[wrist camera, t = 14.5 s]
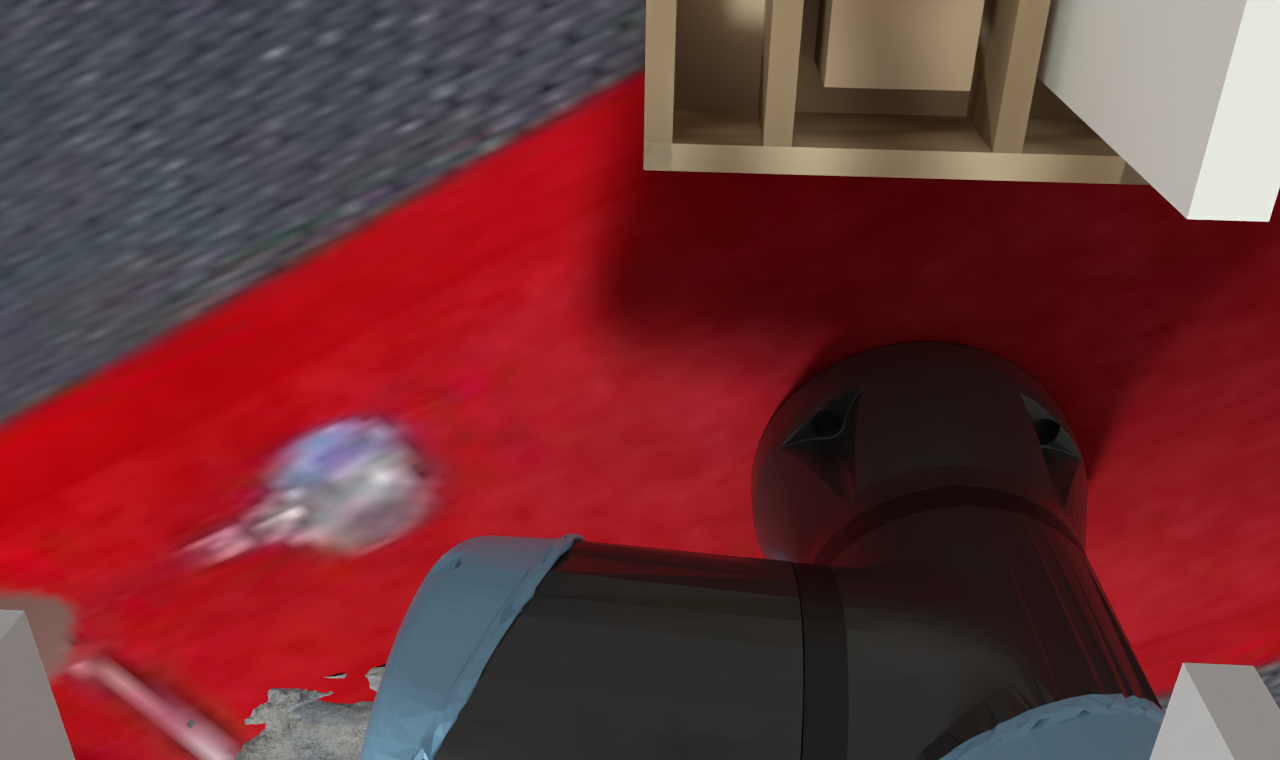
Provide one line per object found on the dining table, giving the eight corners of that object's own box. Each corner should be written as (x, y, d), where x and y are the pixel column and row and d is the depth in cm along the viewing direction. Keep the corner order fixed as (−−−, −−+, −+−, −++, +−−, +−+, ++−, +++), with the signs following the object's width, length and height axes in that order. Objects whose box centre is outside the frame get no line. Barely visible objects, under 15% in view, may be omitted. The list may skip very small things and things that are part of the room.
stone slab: (442, 656, 58) (511, 790, 62) (451, 633, 60) (517, 765, 64) (154, 716, 62) (236, 838, 66) (169, 693, 64) (248, 814, 68)
